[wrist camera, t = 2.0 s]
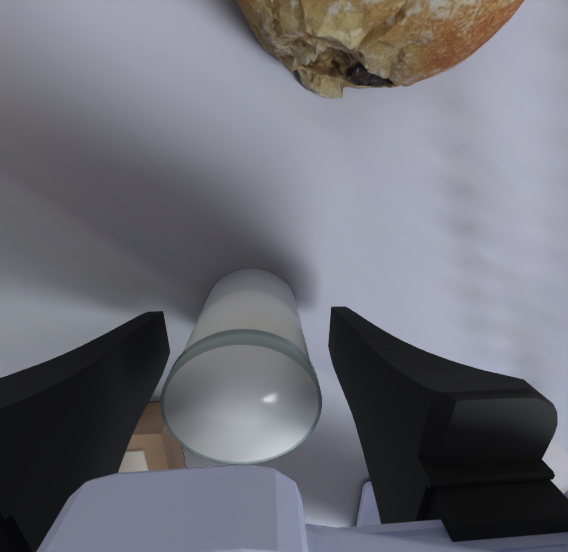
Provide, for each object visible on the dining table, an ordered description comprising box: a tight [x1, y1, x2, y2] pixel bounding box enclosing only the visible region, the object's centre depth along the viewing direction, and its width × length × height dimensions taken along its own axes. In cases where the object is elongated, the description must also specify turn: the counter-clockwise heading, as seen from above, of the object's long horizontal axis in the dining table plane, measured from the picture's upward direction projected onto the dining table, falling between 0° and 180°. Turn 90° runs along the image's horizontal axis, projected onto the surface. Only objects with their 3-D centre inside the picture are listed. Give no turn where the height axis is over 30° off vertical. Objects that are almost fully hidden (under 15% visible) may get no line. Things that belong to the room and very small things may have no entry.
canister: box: [160, 268, 322, 464], centre depth 11 cm, size 5×5×6 cm
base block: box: [118, 402, 186, 473], centre depth 15 cm, size 9×9×2 cm
